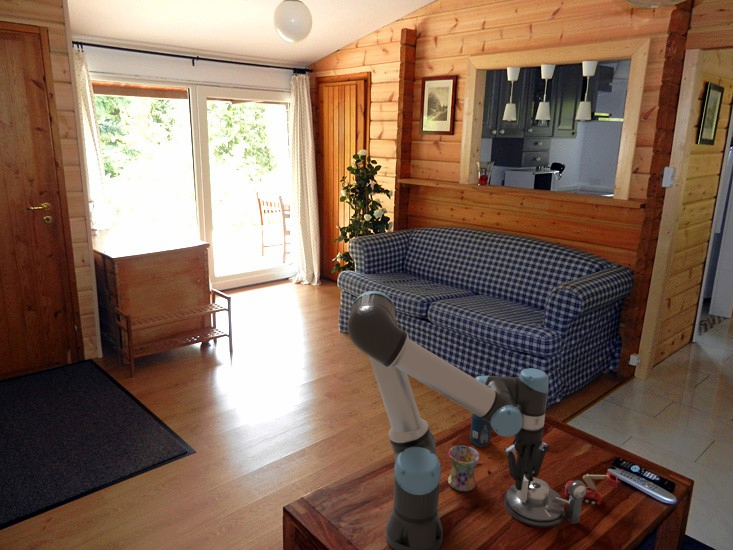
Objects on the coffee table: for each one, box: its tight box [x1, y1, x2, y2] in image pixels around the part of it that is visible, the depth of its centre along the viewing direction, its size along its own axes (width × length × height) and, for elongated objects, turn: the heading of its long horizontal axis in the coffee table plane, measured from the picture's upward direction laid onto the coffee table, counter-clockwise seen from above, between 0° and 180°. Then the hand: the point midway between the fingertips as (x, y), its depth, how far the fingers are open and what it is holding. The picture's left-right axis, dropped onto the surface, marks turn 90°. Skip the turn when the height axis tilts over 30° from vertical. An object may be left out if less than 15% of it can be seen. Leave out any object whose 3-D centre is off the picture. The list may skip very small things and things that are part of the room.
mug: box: [447, 445, 481, 492], centre depth 170 cm, size 12×9×11 cm
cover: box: [525, 477, 550, 507], centre depth 159 cm, size 7×7×5 cm
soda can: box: [469, 412, 493, 448], centre depth 192 cm, size 7×7×12 cm
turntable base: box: [503, 492, 567, 529], centre depth 160 cm, size 17×17×1 cm
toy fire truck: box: [564, 472, 619, 506], centre depth 163 cm, size 3×14×10 cm, turn 68°
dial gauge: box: [555, 479, 587, 525], centre depth 155 cm, size 6×5×13 cm
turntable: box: [506, 475, 566, 523], centre depth 160 cm, size 16×16×6 cm
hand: (521, 498), depth 158 cm, fingers closed
